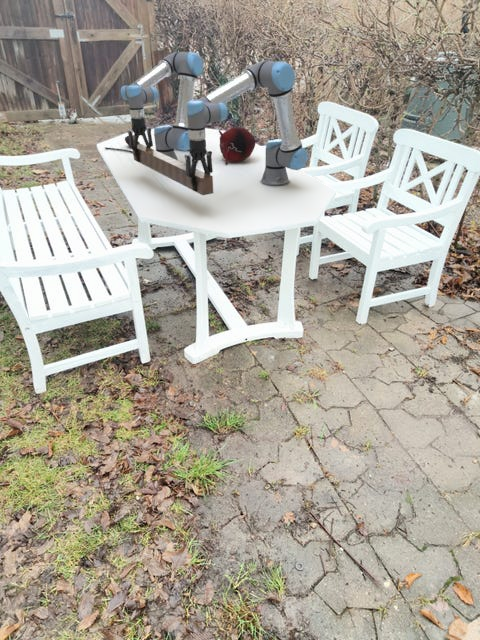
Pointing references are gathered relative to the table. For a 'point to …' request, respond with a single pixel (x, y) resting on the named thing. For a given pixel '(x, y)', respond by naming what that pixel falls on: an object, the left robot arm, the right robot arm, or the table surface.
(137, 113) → the left robot arm
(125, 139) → the rock
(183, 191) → the table surface
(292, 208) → the table surface
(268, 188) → the table surface
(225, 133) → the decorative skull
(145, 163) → the bar
